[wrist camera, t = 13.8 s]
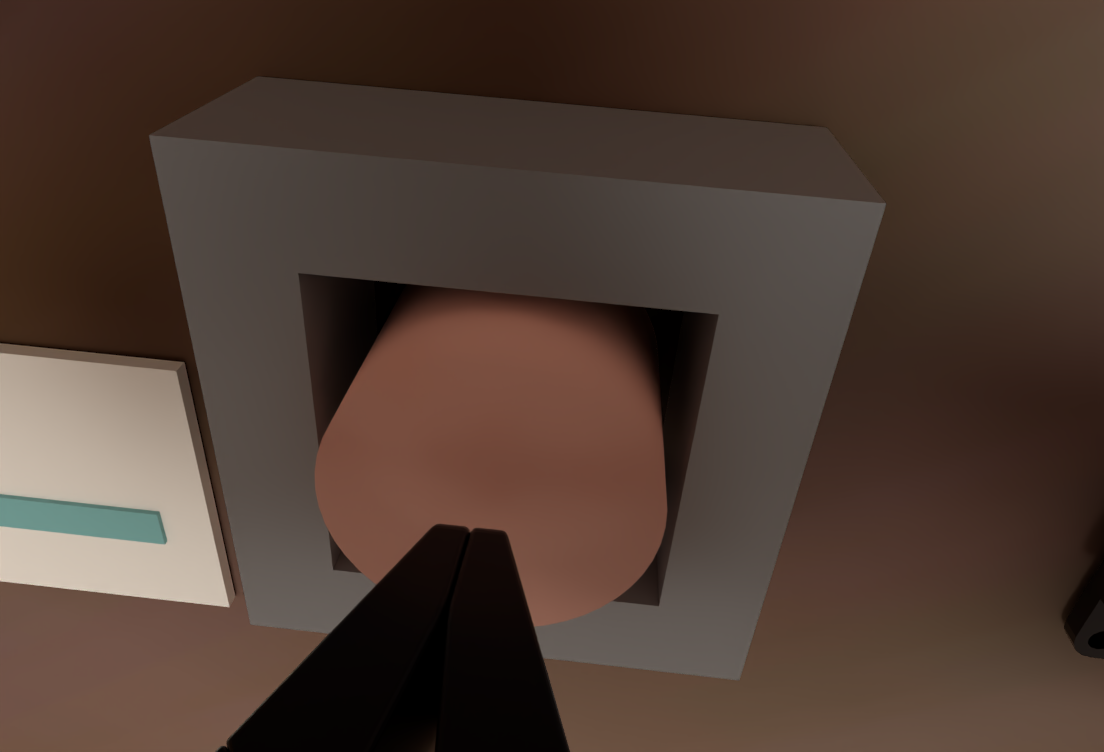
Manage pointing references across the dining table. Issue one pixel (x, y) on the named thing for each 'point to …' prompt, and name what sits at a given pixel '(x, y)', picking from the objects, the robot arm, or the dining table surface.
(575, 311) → the button
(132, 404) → the card
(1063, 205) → the dining table surface
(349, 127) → the button box
